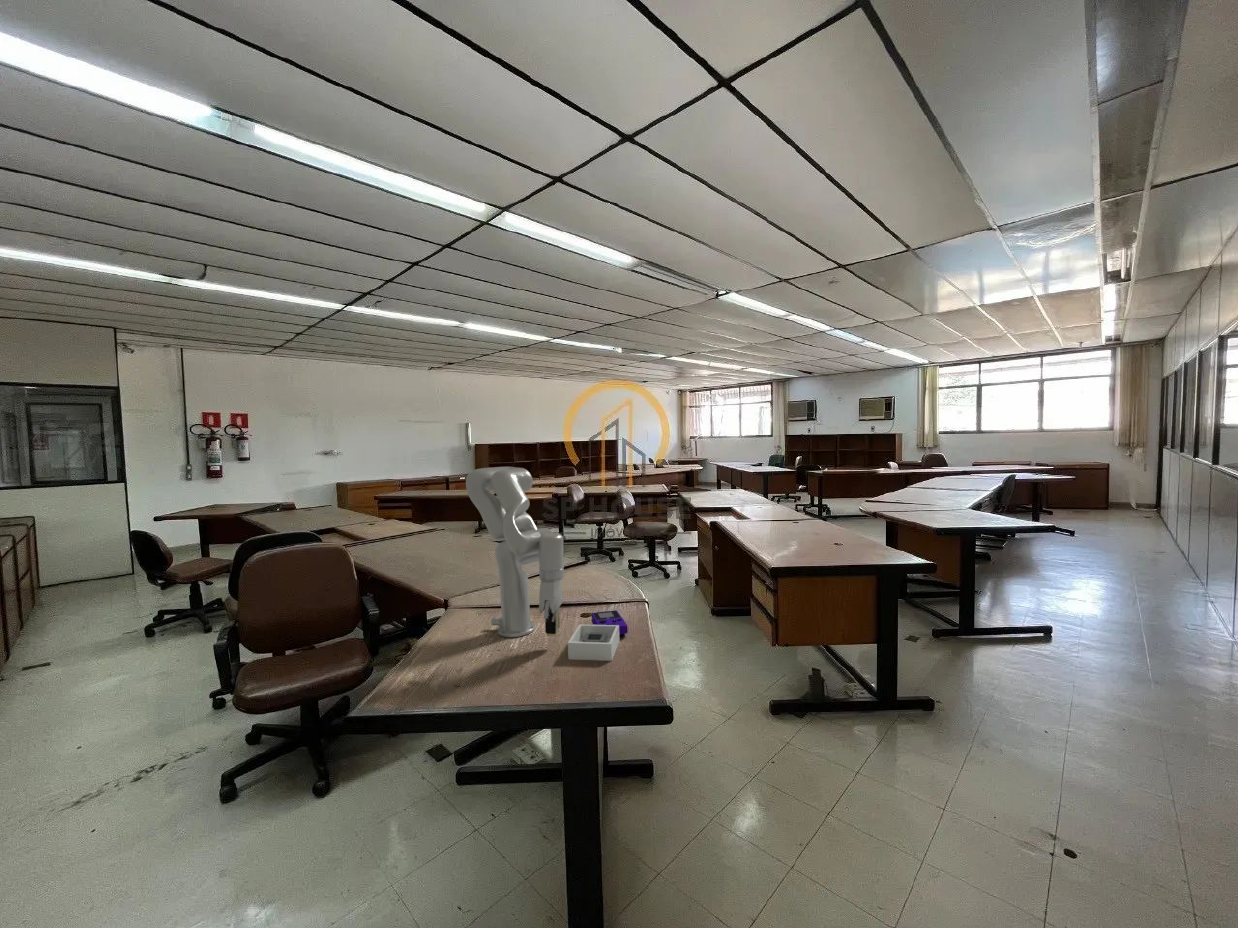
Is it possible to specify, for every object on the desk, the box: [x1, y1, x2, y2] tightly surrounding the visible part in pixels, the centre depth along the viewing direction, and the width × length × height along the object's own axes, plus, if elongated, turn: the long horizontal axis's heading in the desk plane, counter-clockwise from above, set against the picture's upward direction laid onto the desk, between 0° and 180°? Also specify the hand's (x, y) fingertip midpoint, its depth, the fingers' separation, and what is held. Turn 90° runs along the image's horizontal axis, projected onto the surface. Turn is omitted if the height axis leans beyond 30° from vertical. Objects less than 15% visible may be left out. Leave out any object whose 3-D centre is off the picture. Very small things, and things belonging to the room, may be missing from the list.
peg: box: [546, 607, 560, 638], centre depth 147 cm, size 3×3×9 cm
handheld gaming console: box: [591, 609, 628, 635], centre depth 159 cm, size 9×5×15 cm
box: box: [567, 623, 621, 662], centre depth 145 cm, size 13×14×5 cm
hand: (552, 630), depth 147 cm, fingers closed on peg, 3 cm apart
